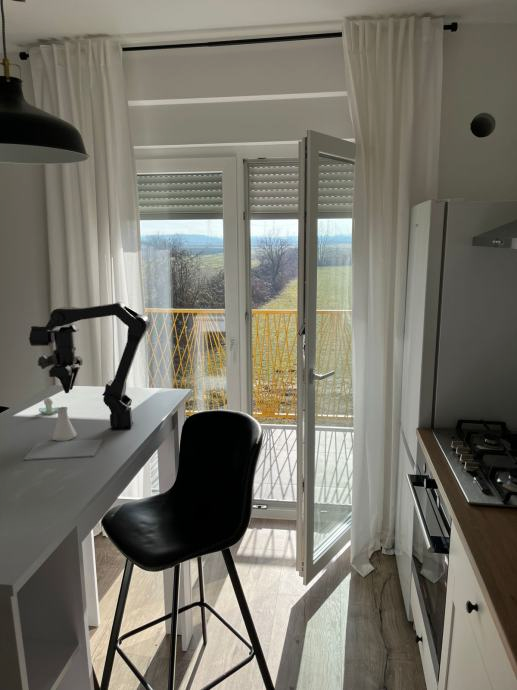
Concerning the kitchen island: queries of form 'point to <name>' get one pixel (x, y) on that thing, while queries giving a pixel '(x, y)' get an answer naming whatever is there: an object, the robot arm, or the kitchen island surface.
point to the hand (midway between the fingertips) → (68, 391)
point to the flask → (63, 426)
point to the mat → (64, 449)
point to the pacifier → (48, 407)
